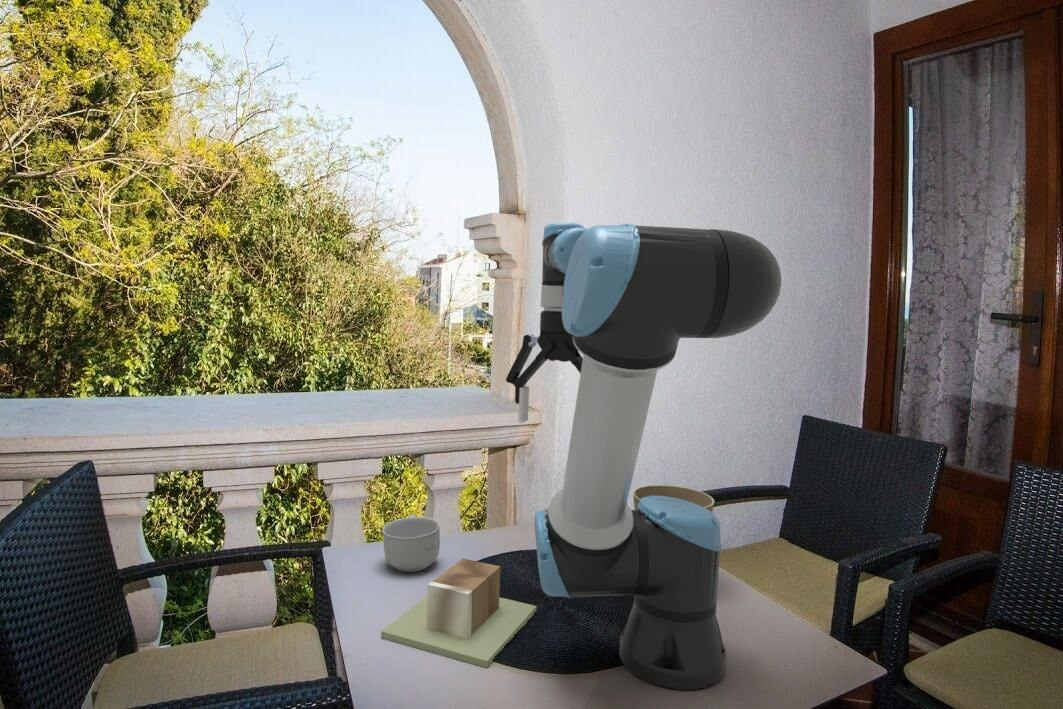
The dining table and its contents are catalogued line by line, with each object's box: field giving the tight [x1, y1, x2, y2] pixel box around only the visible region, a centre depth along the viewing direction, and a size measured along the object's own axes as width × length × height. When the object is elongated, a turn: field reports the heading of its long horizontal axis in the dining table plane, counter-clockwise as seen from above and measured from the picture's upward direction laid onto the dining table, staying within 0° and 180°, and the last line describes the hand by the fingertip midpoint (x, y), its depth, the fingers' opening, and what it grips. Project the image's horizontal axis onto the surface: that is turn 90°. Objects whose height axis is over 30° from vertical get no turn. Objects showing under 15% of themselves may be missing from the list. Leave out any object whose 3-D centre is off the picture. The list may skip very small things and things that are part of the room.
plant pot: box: [632, 484, 715, 513], centre depth 121 cm, size 15×15×16 cm
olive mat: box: [380, 595, 537, 668], centre depth 102 cm, size 18×18×1 cm
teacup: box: [381, 514, 441, 573], centre depth 124 cm, size 14×11×8 cm
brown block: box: [427, 558, 501, 639], centre depth 101 cm, size 7×7×11 cm
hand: (556, 425), depth 118 cm, fingers open, 13 cm apart
